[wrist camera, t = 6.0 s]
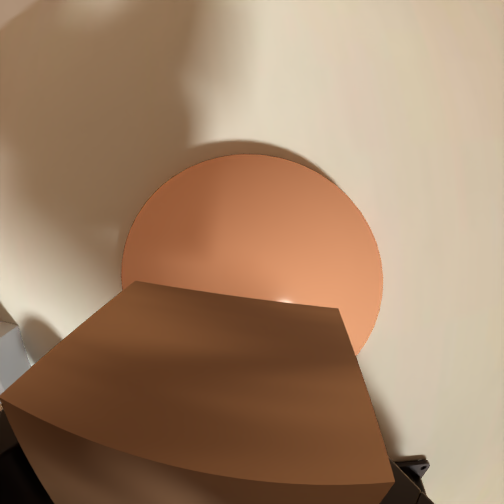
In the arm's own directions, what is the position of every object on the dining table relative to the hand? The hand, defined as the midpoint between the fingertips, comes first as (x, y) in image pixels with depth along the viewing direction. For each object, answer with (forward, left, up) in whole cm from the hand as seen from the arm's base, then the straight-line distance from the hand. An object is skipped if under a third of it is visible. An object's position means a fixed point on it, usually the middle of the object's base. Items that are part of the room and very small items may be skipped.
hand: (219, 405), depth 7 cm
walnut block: (0, 0, -1) cm, 1 cm away
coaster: (0, 0, -8) cm, 8 cm away
